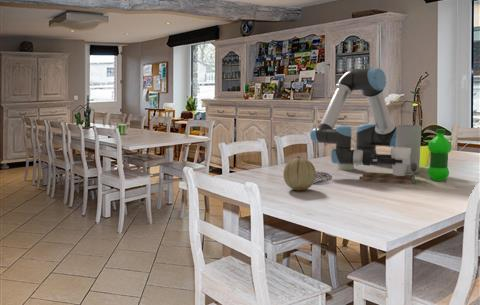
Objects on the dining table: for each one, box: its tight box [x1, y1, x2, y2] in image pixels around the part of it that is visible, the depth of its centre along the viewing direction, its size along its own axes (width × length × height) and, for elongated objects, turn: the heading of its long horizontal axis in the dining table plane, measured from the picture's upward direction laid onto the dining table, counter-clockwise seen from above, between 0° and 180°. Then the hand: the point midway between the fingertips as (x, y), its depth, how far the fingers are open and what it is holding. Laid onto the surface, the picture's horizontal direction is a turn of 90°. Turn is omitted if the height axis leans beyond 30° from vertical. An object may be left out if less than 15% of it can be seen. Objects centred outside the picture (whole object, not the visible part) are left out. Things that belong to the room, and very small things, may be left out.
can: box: [336, 147, 355, 171], centre depth 255 cm, size 9×9×12 cm
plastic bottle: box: [427, 128, 453, 182], centre depth 222 cm, size 10×10×25 cm
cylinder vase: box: [395, 124, 422, 175], centre depth 244 cm, size 12×12×25 cm
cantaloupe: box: [283, 156, 317, 192], centre depth 203 cm, size 15×15×15 cm
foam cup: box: [390, 147, 411, 176], centre depth 221 cm, size 10×9×13 cm
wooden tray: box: [358, 162, 417, 185], centre depth 224 cm, size 26×14×9 cm, turn 68°
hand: (410, 160), depth 219 cm, fingers closed on foam cup, 9 cm apart
